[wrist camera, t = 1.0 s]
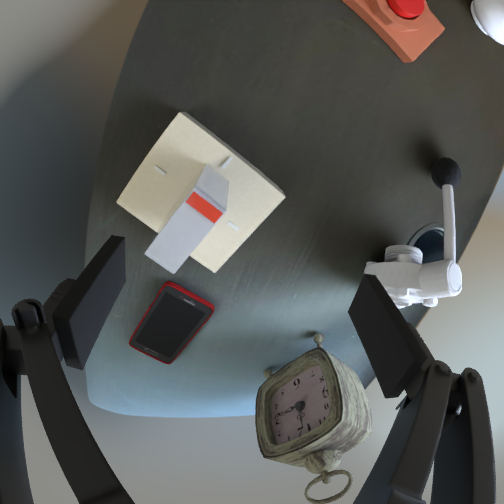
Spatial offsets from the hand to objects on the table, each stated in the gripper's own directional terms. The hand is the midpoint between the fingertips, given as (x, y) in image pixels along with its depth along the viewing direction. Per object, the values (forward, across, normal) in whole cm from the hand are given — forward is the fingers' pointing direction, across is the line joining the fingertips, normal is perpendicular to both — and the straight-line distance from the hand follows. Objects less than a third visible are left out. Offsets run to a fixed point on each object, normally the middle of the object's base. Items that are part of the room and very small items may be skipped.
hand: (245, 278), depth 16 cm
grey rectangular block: (+17, -4, -2) cm, 17 cm away
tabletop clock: (+20, +15, -26) cm, 36 cm away
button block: (+20, +12, +26) cm, 35 cm away
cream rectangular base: (+20, -4, -2) cm, 20 cm away
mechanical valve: (+20, +23, -1) cm, 30 cm away
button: (+16, +12, +26) cm, 33 cm away
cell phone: (+20, -7, -22) cm, 31 cm away
